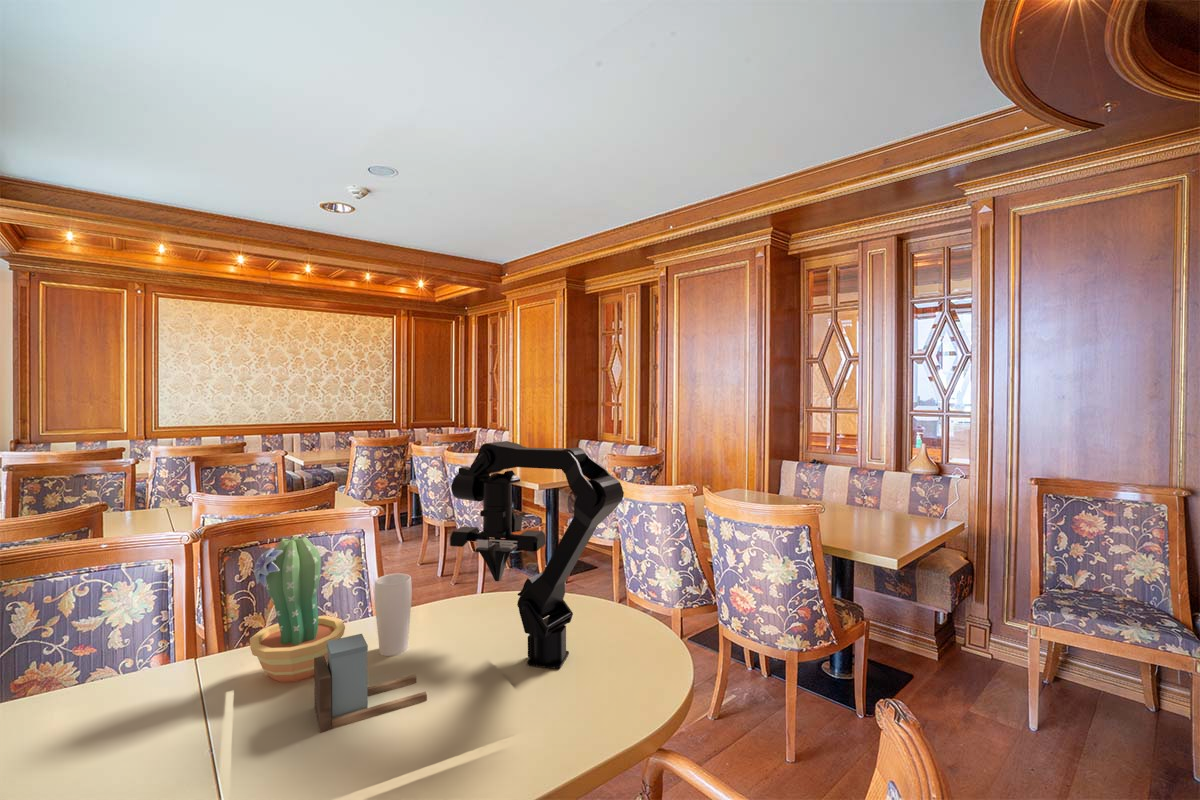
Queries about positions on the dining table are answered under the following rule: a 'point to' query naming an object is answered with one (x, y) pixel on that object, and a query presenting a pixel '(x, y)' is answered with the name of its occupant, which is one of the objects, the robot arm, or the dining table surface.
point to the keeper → (348, 674)
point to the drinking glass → (393, 612)
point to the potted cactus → (293, 612)
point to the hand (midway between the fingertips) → (497, 580)
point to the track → (325, 695)
